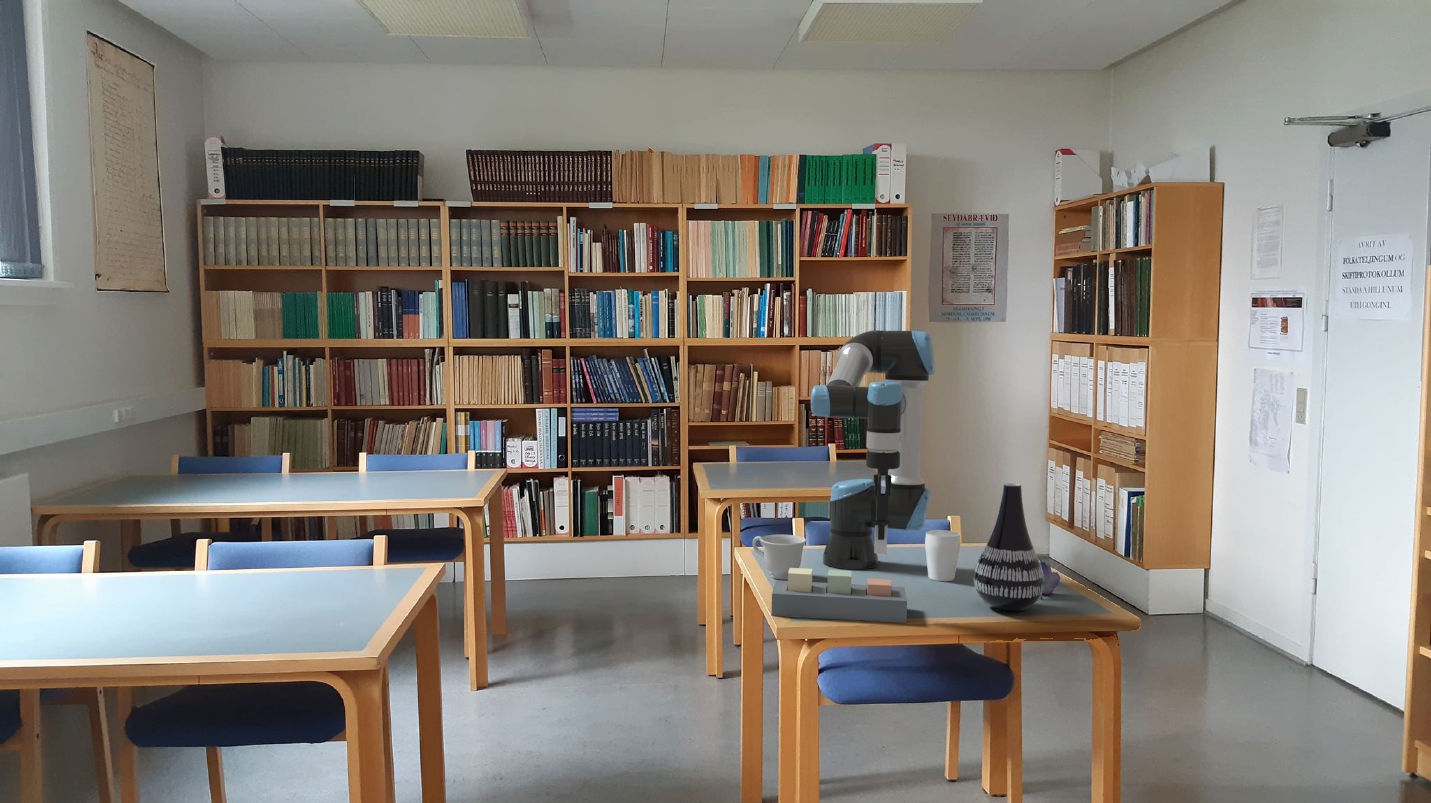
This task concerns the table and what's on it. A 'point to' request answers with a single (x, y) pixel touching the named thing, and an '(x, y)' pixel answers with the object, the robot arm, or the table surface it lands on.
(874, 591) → the button terracotta
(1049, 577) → the flower
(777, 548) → the teacup
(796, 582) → the button cream
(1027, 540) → the vase
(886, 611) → the panel
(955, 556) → the cup
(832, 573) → the button sage
